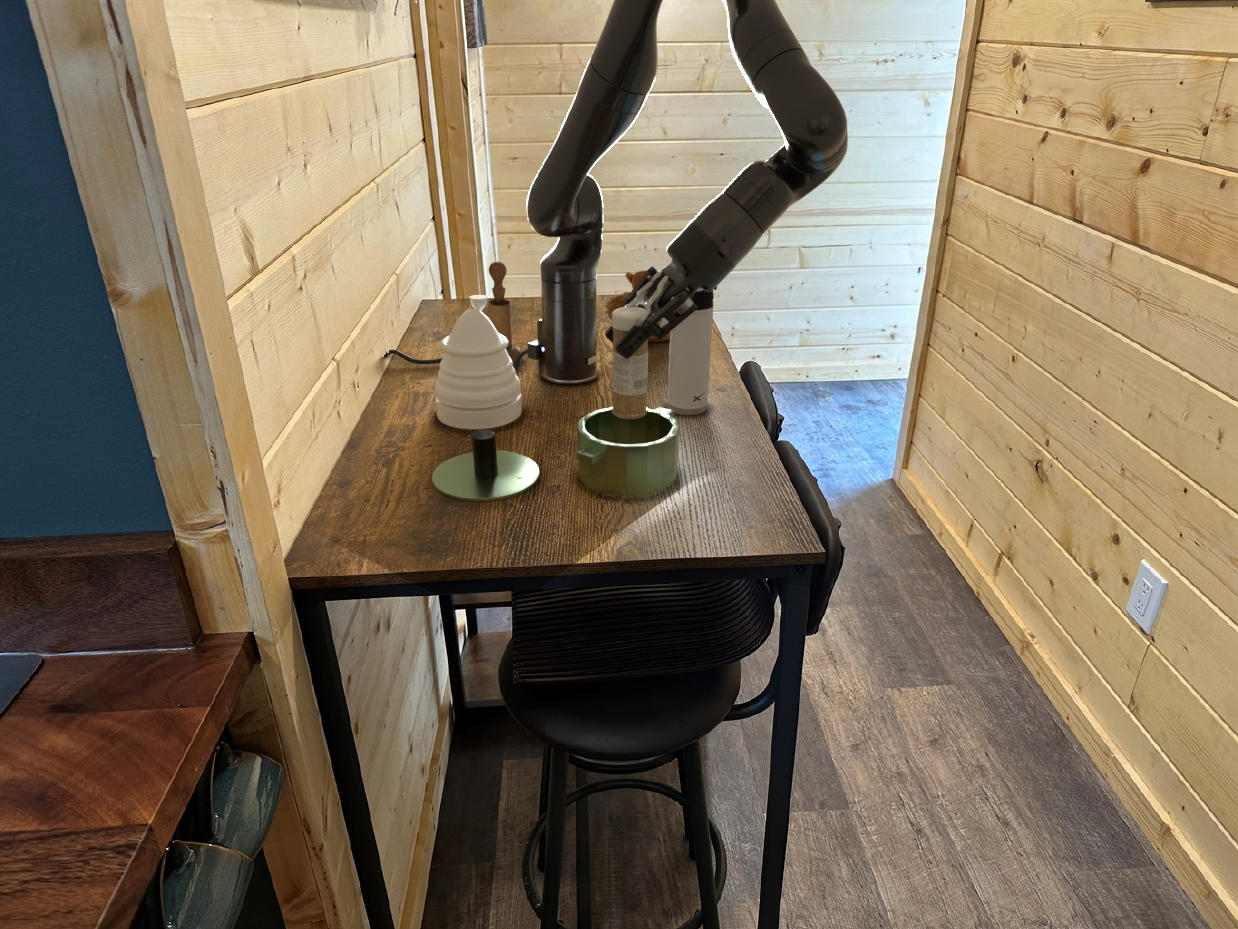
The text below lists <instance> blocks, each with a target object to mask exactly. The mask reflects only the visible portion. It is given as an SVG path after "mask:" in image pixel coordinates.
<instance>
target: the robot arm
mask: <svg viewBox="0 0 1238 929" xmlns="http://www.w3.org/2000/svg"><path fill="white" fill-rule="evenodd" d="M663 2H664V0H613V2H612V5H611V7H610V10H609V12H608V15H607V17H606V21H605V23H604V25H603V29H602V30H601V34H600V35H599V38H598V40H597V42H596V45H595V46H594V48H593V51H592V53H591V55H590V58H589V61H588V62H587V65H586V68H585V69H584V71H583V75H582V77H581V80H580V83H579V85H578V89H577V91H576V94H575V96H574V98H573V101H572V103H571V105H570V108H569V109H568V112H567V114H566V117H565V118H564V121H563V123H562V125H561V127H560V131H559V132H558V135H557V137H556V139H555V141H554V143H553V145H552V147H551V149H550V151H549V153H548V155H547V156H546V158H545V159H544V161H543V163H542V166H541V167H540V169H539V170H538V171H537V172H538V173H536V176H535V178H534V180H533V181H532V184H531V186H530V189H529V191H528V195H527V198H526V216H527V221H528V222H529V225H530V227H531V228H532V230H533V231H534V232H535V233H536V234H537V235H540V236H542V237H546V238H558V239H557V242H556V243H555V245H554V246H553V248H551V250H550V251H549V252H548V253H547V254H545V255H544V256H543V257H542V259H541V260H540V263H539V276H540V278H539V281H540V283H539V284H540V308H541V309H540V310H541V319H539V320H537V322H536V330H537V333H536V334H537V339H535V340H533V341H531V342H527V343H526V344H527V348H525V349H523V350H522V351H520V354H519V355H518V356H517V359H516V362H515V364H514V365H512V366H513V367H514V369H515V370H516V369H518V368H519V366H520V364H521V362H522V359H523V357H524V356H526V355H527V359H531V360H534V361H538V363H537V364H538V365H537V366H538V375H539V376H542V378H543V379H544V380H546V381H548V382H549V383H554V384H559V385H581V384H586V383H589V382H592V381H593V380H595V379H596V378H597V377H598V369H597V368H598V367H597V366H598V364H597V363H598V351H597V350H598V347H597V344H598V342H597V340H598V338H597V337H598V336H597V335H598V334H597V333H598V331H597V330H598V329H597V328H598V327H597V326H598V325H597V324H598V322H597V320H598V319H597V318H598V317H597V316H598V314H597V310H598V308H597V300H598V299H597V296H598V295H597V273H598V272H597V269H598V265H599V263H600V261H601V257H602V251H603V250H602V248H603V230H604V202H603V195H602V191H601V188H600V186H599V184H598V182H597V181H596V179H594V177H593V176H592V175H590V174H589V173H590V171H591V170H592V168H593V167H594V166H595V164H596V163H597V162H598V161H599V160H600V159H601V158H602V157H603V156H604V155H605V154H606V153H607V152H608V151H609V150H610V149H611V148H612V147H613V146H614V145H615V144H616V143H617V142H618V141H619V140H620V139H621V138H622V137H623V136H624V135H625V133H627V131H628V130H629V129H630V128H631V127H632V125H633V124H634V123H635V121H636V119H637V118H638V117H639V114H640V112H641V111H642V109H643V107H644V105H645V102H646V100H647V99H648V96H649V94H650V92H651V90H652V88H653V85H654V83H655V81H656V79H657V78H656V77H657V74H658V64H659V52H658V51H659V50H658V18H659V13H660V10H661V7H662V4H663ZM722 2H723V4H724V7H725V10H726V15H727V28H728V39H729V44H730V48H731V51H732V55H733V57H734V59H735V61H736V63H737V66H738V67H739V69H740V71H741V73H742V75H743V76H744V78H745V80H746V82H747V84H748V85H749V87H750V88H751V90H752V92H753V93H754V95H755V97H756V98H757V100H758V101H759V102H760V104H761V105H762V106H763V107H764V108H766V109H768V110H769V112H770V114H771V115H772V117H773V118H774V120H775V123H776V124H777V126H778V129H779V130H780V132H781V135H782V136H783V139H784V144H782V146H781V147H779V149H778V150H776V152H774V153H773V154H772V155H771V156H770V157H769V158H767V159H766V160H765V161H763V160H755V161H752V162H751V163H749V164H748V165H747V166H745V167H744V168H743V169H742V170H741V171H740V172H739V173H738V174H737V175H736V177H734V178H733V179H732V181H731V182H729V184H728V185H726V187H725V188H724V189H723V190H722V192H720V193H719V194H718V195H717V196H715V198H714V199H712V200H711V201H709V202H708V204H706V205H705V206H704V207H703V208H702V209H701V210H700V212H698V213H697V215H695V217H694V218H693V219H692V220H690V221H689V223H688V224H687V225H686V226H685V227H684V228H683V230H681V231H680V233H679V234H677V235H676V236H675V238H674V239H673V240H672V241H671V242H670V243H669V244H668V245H667V247H666V250H665V251H666V253H667V255H668V257H669V258H671V261H670V262H669V263H667V265H665V266H664V267H662V269H660V270H659V271H658V270H657V269H656V268H655V267H654V266H650V267H649V268H648V269H646V270H647V272H646V273H645V274H644V276H643V277H642V278H641V280H640V281H639V282H638V283H637V285H636V286H635V287H634V289H633V288H632V290H631V291H629V292H630V294H629V295H628V296H627V298H626V299H625V300H624V304H625V305H626V306H625V307H638V308H643V309H645V308H646V311H645V313H644V314H643V315H642V317H641V318H640V319H639V321H638V322H637V326H638V327H637V326H636V325H634V326H633V327H632V328H631V329H630V330H629V331H628V332H627V333H626V334H625V335H624V336H623V337H622V339H621V340H620V341H619V342H618V343H617V344H616V345H615V349H616V351H617V352H618V353H619V354H620V355H622V356H623V357H624V358H625V359H629V358H630V357H631V356H632V355H633V354H634V353H635V352H636V351H637V350H638V349H639V348H640V347H641V346H642V345H643V343H644V342H645V341H646V340H647V339H648V338H650V339H652V338H654V337H656V338H657V339H662V338H663V337H664V336H665V335H666V334H668V333H669V332H670V331H671V330H673V329H674V328H675V327H676V326H677V325H679V324H680V323H681V322H682V321H684V320H685V319H686V318H687V317H688V316H690V315H691V314H692V313H693V312H694V311H695V310H696V309H697V306H696V305H695V304H694V302H693V301H692V300H691V298H692V297H693V295H694V294H695V292H696V291H697V289H698V288H699V287H700V288H702V289H703V290H704V291H706V292H711V291H713V292H714V291H715V290H714V289H715V287H716V286H717V287H718V286H719V285H720V284H721V282H723V281H724V279H725V278H726V277H727V276H728V275H730V273H732V271H733V270H734V269H735V268H736V267H737V266H738V265H739V264H740V263H741V262H742V261H743V260H744V259H745V258H746V257H747V256H748V255H749V253H750V252H751V251H752V250H754V247H755V246H756V245H757V243H758V242H759V241H760V240H761V238H762V237H763V235H765V234H766V233H767V232H768V231H769V230H770V229H771V228H772V227H773V226H774V224H775V223H776V222H777V221H778V220H779V219H781V218H782V216H783V215H784V214H785V213H786V211H787V210H788V209H789V208H790V207H792V206H793V205H794V204H796V203H798V202H799V201H800V200H803V199H804V198H805V197H806V196H807V195H809V194H810V193H811V192H813V191H814V190H816V189H817V188H818V187H820V185H822V184H823V183H824V182H825V181H827V180H828V179H829V178H830V177H831V176H832V175H833V174H834V173H835V171H836V170H837V169H838V168H839V166H840V165H841V164H842V163H843V161H844V159H845V157H846V154H847V151H848V146H849V137H848V134H849V133H848V118H847V114H846V111H845V109H844V106H843V105H842V102H841V101H840V98H839V97H838V95H837V94H836V92H835V91H834V90H833V88H832V87H831V86H830V84H829V83H828V82H827V81H826V79H825V78H824V77H823V76H822V75H821V74H820V73H819V71H818V70H817V69H816V68H815V67H814V66H813V65H812V64H811V62H810V59H809V58H808V56H807V54H806V52H805V50H804V48H803V47H802V45H801V43H800V42H799V40H798V38H797V36H796V35H795V33H794V32H793V30H792V28H791V26H790V24H789V23H788V22H787V20H786V18H785V16H784V14H783V13H782V11H781V9H780V7H779V6H778V4H777V2H776V0H722ZM636 296H637V297H636ZM635 297H636V298H635ZM652 315H653V316H652ZM651 316H652V317H651ZM664 324H665V326H664V327H662V326H663V325H664ZM604 335H605V337H606V338H607V340H609V342H611V343H612V344H613V327H612V324H611V325H610V326H609V327H608V329H606V331H605V332H604ZM388 350H389V353H387V351H385V352H386V354H385V355H384V357H383V358H388V357H389V356H391V355H396V356H398V357H399V358H402V359H403V360H406V361H407V362H409V363H412V364H416V365H434V364H440V363H441V361H442V359H443V357H440V358H432V359H417V358H413V357H411V356H409V355H407V354H405V353H403V351H399V350H398V349H388ZM520 361H521V362H520Z"/></svg>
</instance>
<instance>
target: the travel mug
mask: <svg viewBox="0 0 1238 929" xmlns="http://www.w3.org/2000/svg"><path fill="white" fill-rule="evenodd" d="M717 289H718V285H717V286H716V287H715V289H714V290H713V291H711V292H706V291H704V290H703V289H702V288H700V287H699V288H698V289H697V291H696V292H695V294H694V295H693V297H692V298H691V300H692V301H693V302H694V304H695V305H696V306H697V309H696V310H695V311H694V312H693V313H692V314H691V315H690V316H688V317H687V318H686V319H685V320H684V321H682V322H681V323H680V324H679V325H677V326H676V327H675V328H674V329H673V330H671V331H670V339H669V355H668V357H669V358H668V380H667V381H668V384H667V405H666V406H667V409H669V410H672V411H674V414H677V415H680V416H697V415H702V414H703V413H705V412H706V411H707V409H708V399H709V383H710V382H709V381H710V369H711V368H710V366H711V352H712V336H713V335H712V334H713V320H714V318H713V317H714V296H715V294H714V291H716V290H717Z"/></svg>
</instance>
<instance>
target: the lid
mask: <svg viewBox="0 0 1238 929" xmlns="http://www.w3.org/2000/svg"><path fill="white" fill-rule="evenodd" d="M471 445H472V451H471V452H467V453H466V452H465V453H462V454H459V455H456V456H453V457H451V458H448V459H447V460H444V461H443V462H441V463H440V464H439V465H437V467H436V468H435V469H434V470H433V472H432V475H431V480H432V481H431V482H432V485H433V487H434V489H435V490H436V491H437V492H438V493H439V494H441V495H442V496H445V497H447V498H450V499H452V500H457V501H461V502H462V501H463V502H470V503H489V502H491V503H492V502H498V501H503V500H508V499H511V498H515V497H517V496H520V495H522V494H524V493H526V492H528V491H530V490H531V489H532V488H533V487H535V486H536V484H537V483H538V481H539V479H540V477H541V476H540V475H541V474H540V466H538V464H537V463H536V462H535V461H534V460H532V458H530V457H528V456H526V455H524V454H519V453H517V452H513V451H507V450H497V436H496V433H495V431H493V430H489V429H478V430H475V431H474V432H472V434H471Z"/></svg>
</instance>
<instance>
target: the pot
mask: <svg viewBox="0 0 1238 929" xmlns="http://www.w3.org/2000/svg"><path fill="white" fill-rule="evenodd" d="M612 407H613V406H611V407H605V408H602V409H601V408H600V409H597V410H594V411H592V412H590V413H588V414H586V415H584V416H582V417H581V419H580V420H579V422H578V423H577V452H576V460H577V473H578V477H579V480H580V482H581V483H583V484H584V485H585V486H586V487H588V489H590V490H593V491H595V492H599V493H602V494H605V495H609V496H617V497H624V498H625V497H626V498H627V497H628V498H629V497H644V496H648V495H652V494H656V493H660V492H662V491H665V490H666V489H667V488H669V487H670V486H672V485H674V483H675V481H676V479H677V476H678V463H679V462H678V461H679V442H680V440H679V439H680V426H679V424H678V422H677V420H676V419H675V413H674V411H672V410H669V409H668V408H665V407H661V406H659V407H657V408H655V409H652V408H649V407H646V409H647V413H646V415H644V416H643V417H641V418H638V419H622V418H619V417H617V416H615V415H614V414H613V413H612Z"/></svg>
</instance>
